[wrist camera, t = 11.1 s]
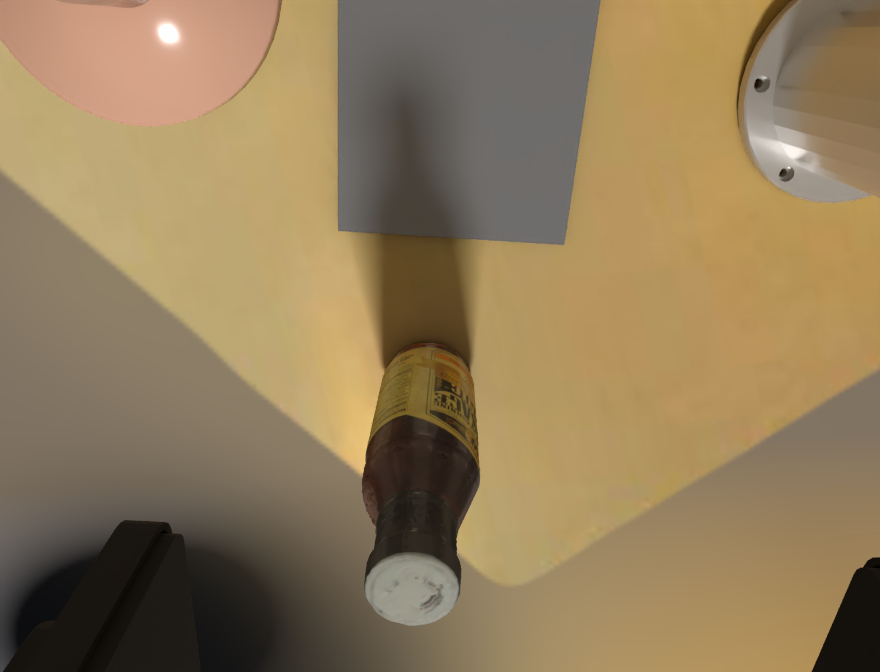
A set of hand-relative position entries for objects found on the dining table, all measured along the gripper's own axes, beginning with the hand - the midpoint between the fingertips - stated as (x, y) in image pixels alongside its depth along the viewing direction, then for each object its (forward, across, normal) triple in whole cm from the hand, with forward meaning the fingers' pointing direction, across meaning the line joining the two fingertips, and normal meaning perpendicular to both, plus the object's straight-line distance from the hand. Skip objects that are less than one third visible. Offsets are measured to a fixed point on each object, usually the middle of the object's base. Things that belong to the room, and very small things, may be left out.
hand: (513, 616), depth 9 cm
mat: (+33, 0, -3) cm, 33 cm away
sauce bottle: (+34, +1, +14) cm, 36 cm away
